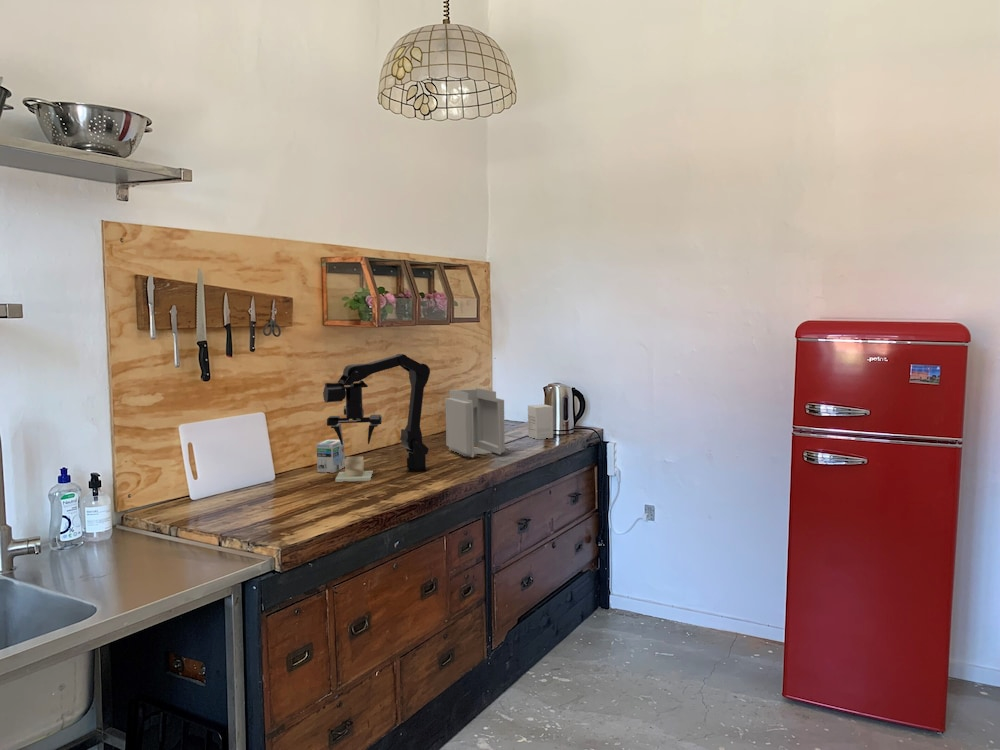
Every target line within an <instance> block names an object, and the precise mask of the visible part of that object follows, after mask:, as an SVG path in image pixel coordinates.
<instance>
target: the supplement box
mask: <svg viewBox="0 0 1000 750" xmlns="http://www.w3.org/2000/svg"><path fill="white" fill-rule="evenodd" d="M553 411H554V406H553V405H548V404H534V405H533V404H532V405H527V434H528V436H529V437H528V436H527V437H528V438H530V437H532V438H531V439H533V438H535V439H534V440H536V439H538V440H546V438H548V439H553V438H554V412H553Z"/></svg>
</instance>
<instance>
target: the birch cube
mask: <svg viewBox="0 0 1000 750" xmlns="http://www.w3.org/2000/svg"><path fill="white" fill-rule="evenodd" d="M364 461H365V459H364V456H362V455H361V456H359V455H358V456H357V455H356V456H346V457H345V468H344V472H345V477H359V476H363V474H364V471H365V463H364Z"/></svg>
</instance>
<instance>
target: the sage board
mask: <svg viewBox="0 0 1000 750" xmlns="http://www.w3.org/2000/svg"><path fill="white" fill-rule="evenodd" d="M372 474H374V470H364V474H363V476H359V477H345V471H339V472H338V473H337V475H336V477H335V479H334V480H335V481H334V482H335V483H340V482H341V483H344V482H343V481H348V482H371V481H370V480H372V478H373V475H372ZM371 477H372V478H371Z"/></svg>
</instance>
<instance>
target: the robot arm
mask: <svg viewBox="0 0 1000 750" xmlns="http://www.w3.org/2000/svg"><path fill="white" fill-rule="evenodd" d="M396 367H401V368H402V369H404V370H405V371H406V372H408V378H409V383H410V387H411V388H410V398H409V407H408V415H407V424H406V427H405V428H404V429H402V428H401V429H400V438H399V440H400V443H401V445H402V447H403V448H405V450H406V453H407V454H408V456H407V457H406V469H407V471H408V472H424V471H423V470H426V471H427V465H426V464H427V463H426V462H427V460H426V459H427V458H426V455H428V453H429V447H427V445H425V444H424V443H423V433H422V429H421V420H422V410H423V399H424V391H425V387H426V385H427V383H428V382H429V378H430V374H431V369H430V367H429V366H428V365H427V364H426V363H420V362H418V361H417V360H414V359H412V358H410V357H409V356H407V355H406V354H404V353H398V354H395V355H392V356H389V357H385V358H382V359H378V360H375V361H372V362H367V363H355V364H347V365H346V366H345V367H344V368H343V372H342V375H341V376H340V378H339V379H338V381H337V382H325V383H324V387H323V392H322V396H323V397H322V398H323V400H324V402H325V403H339V402H343V401H344V400H345V405H343V415H344V416H346V417H341V415H330V416H328V418H327V419H326V426H327V427H330V428H331V429H333V430H334V431H335V433H336V435H337V437H338V440H340V442H341V445H343V440H344V439H343V432H342V431H343V430H342V424H352V423H353V424H354V423H355V424H357V423H369V425H368V434H367V435H368V436H367V445H370V442H371V438H372V435H373V432H374V430H375V428H377V427H378V426H379V425H382V423H383V416H382V415H381V414H370V415H369V416H365V417H364V415H365V414H364V406H363V388H368V386H369V385H368V384H366V383H365V381H364V379H366V378H368V377H369V376H371V375H373V374H376V373H380V372H383V371H386V370H389V369H393V368H396Z"/></svg>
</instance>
